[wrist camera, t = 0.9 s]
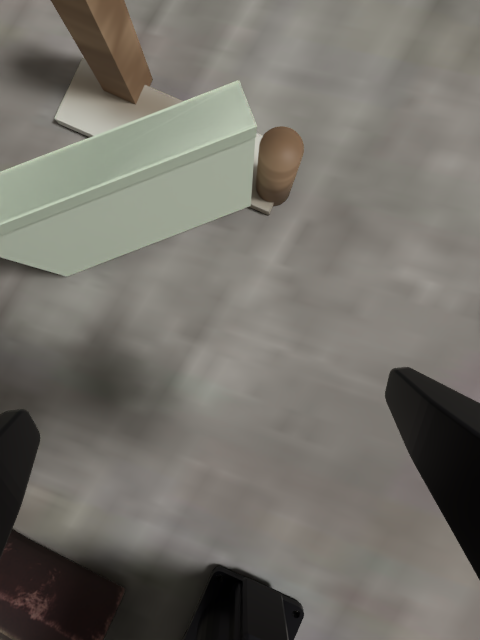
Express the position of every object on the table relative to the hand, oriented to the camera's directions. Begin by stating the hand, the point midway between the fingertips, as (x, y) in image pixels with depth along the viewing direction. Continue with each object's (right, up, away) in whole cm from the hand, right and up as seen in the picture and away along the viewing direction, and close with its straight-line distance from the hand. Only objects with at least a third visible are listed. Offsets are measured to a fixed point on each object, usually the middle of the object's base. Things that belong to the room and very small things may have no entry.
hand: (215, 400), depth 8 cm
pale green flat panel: (-5, +8, +13) cm, 16 cm away
